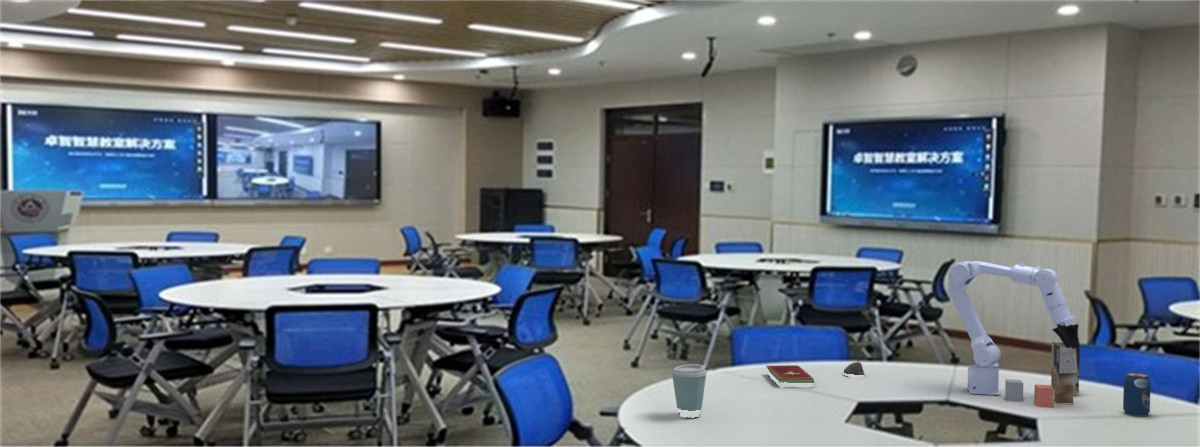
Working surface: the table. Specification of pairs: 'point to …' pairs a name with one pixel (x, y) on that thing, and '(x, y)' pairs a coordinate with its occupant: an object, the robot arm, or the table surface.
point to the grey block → (1013, 390)
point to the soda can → (1136, 394)
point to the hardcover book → (790, 374)
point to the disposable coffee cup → (689, 386)
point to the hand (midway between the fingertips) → (1073, 347)
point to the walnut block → (1063, 392)
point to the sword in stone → (855, 367)
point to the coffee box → (1065, 365)
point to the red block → (1043, 395)
